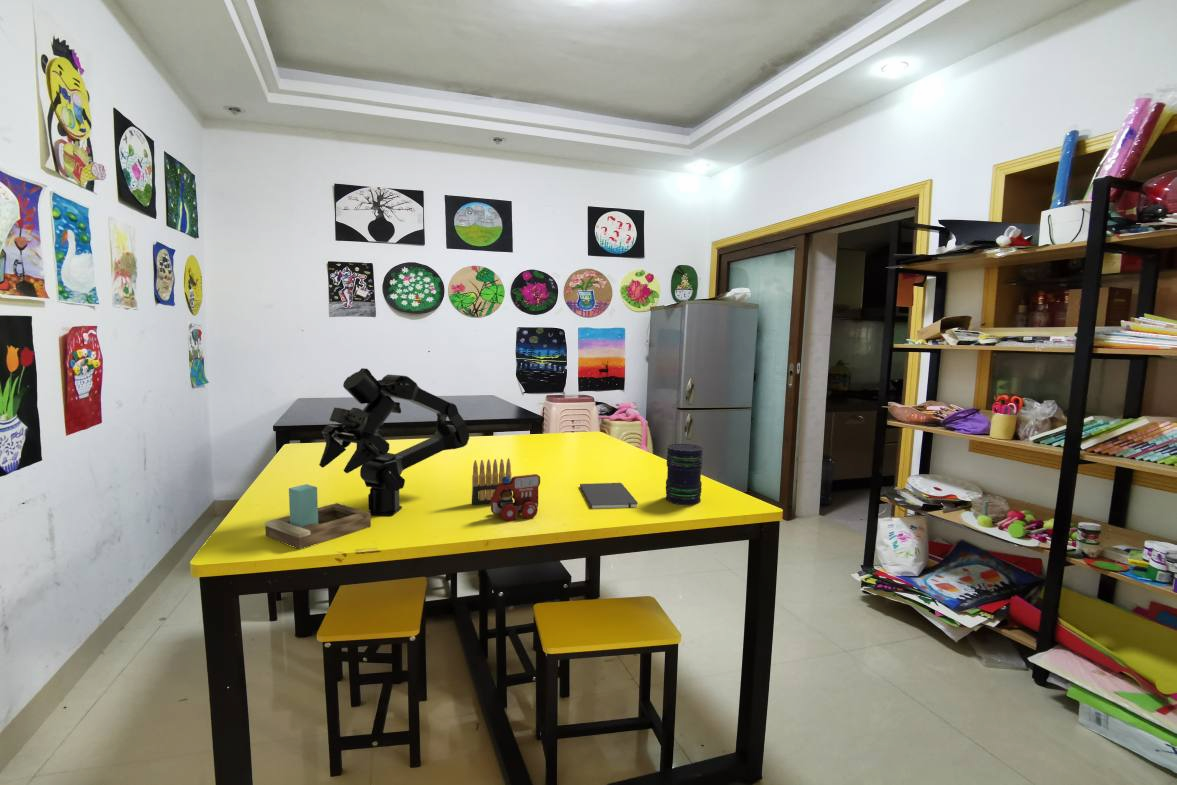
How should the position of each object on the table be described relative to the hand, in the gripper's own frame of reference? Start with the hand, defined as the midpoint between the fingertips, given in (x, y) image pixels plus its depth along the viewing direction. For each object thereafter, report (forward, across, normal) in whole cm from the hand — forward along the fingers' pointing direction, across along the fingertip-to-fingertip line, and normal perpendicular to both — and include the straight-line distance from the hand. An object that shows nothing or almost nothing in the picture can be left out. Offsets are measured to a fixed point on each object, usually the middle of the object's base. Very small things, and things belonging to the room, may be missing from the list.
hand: (332, 469), depth 127 cm
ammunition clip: (-15, +17, +35) cm, 41 cm away
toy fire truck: (-12, +29, +31) cm, 44 cm away
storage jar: (-38, +58, +58) cm, 90 cm away
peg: (+15, 0, +5) cm, 15 cm away
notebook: (-31, +39, +51) cm, 72 cm away
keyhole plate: (+12, 0, +7) cm, 14 cm away
